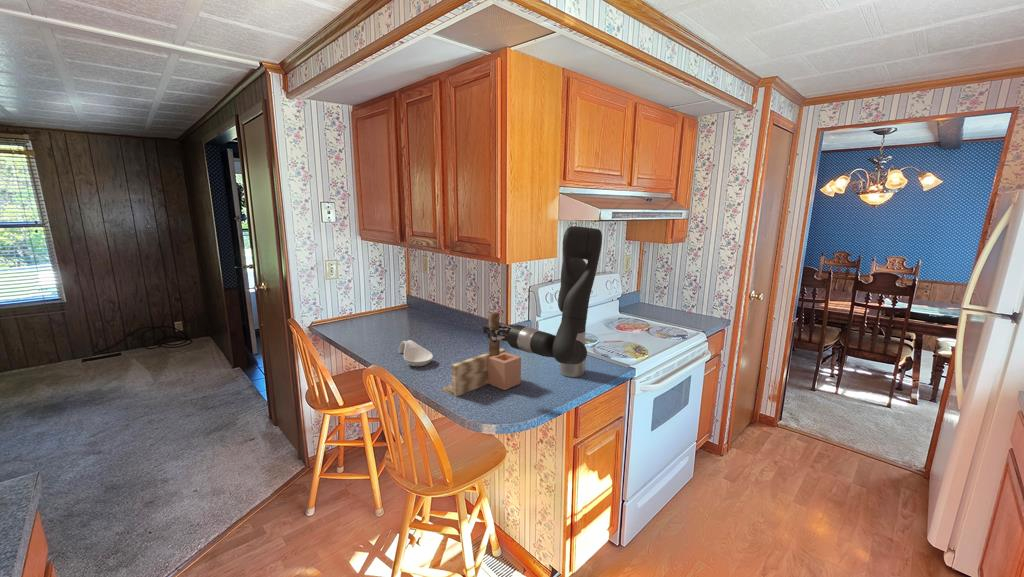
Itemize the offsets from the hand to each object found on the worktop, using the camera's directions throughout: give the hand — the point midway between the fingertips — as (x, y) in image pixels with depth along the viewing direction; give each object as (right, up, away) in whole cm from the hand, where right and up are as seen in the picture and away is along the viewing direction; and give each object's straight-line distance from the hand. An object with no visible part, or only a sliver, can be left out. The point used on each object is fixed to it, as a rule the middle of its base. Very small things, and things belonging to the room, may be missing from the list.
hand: (488, 328), depth 145 cm
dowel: (+2, -9, 0) cm, 9 cm away
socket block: (+5, -22, +13) cm, 26 cm away
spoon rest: (-34, -17, +38) cm, 54 cm away
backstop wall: (-5, -22, +14) cm, 26 cm away
